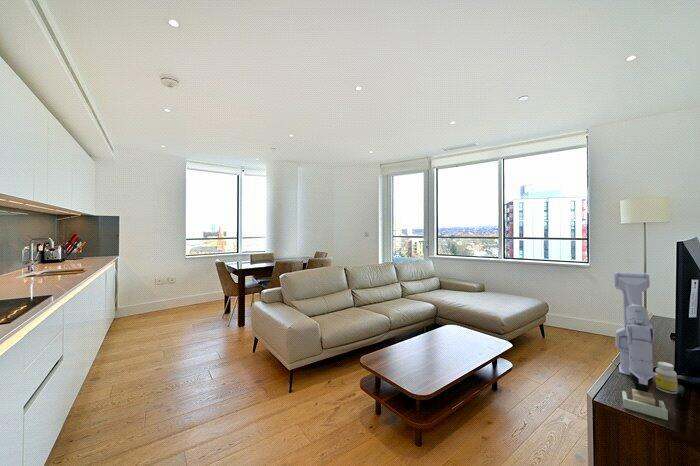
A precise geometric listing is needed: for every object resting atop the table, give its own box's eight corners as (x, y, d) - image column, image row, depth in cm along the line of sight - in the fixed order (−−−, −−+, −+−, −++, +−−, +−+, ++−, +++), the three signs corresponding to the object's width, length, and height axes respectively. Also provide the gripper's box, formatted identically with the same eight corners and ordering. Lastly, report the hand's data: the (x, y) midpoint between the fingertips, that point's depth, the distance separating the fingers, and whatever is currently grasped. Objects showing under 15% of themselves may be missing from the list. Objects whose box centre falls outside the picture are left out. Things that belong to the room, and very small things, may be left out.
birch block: (632, 400, 99) (632, 388, 99) (652, 405, 95) (652, 393, 95) (634, 406, 95) (633, 395, 95) (655, 412, 92) (655, 400, 92)
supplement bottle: (654, 384, 108) (653, 359, 108) (675, 389, 105) (674, 363, 105) (657, 390, 104) (656, 364, 104) (679, 395, 101) (678, 368, 101)
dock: (622, 396, 101) (622, 387, 101) (663, 407, 94) (663, 398, 94) (623, 407, 94) (623, 398, 95) (668, 420, 88) (667, 410, 88)
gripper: (660, 369, 90) (662, 411, 90) (654, 354, 101) (655, 392, 101) (629, 362, 95) (631, 402, 95) (627, 349, 106) (628, 385, 106)
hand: (641, 396), depth 98 cm, fingers closed
